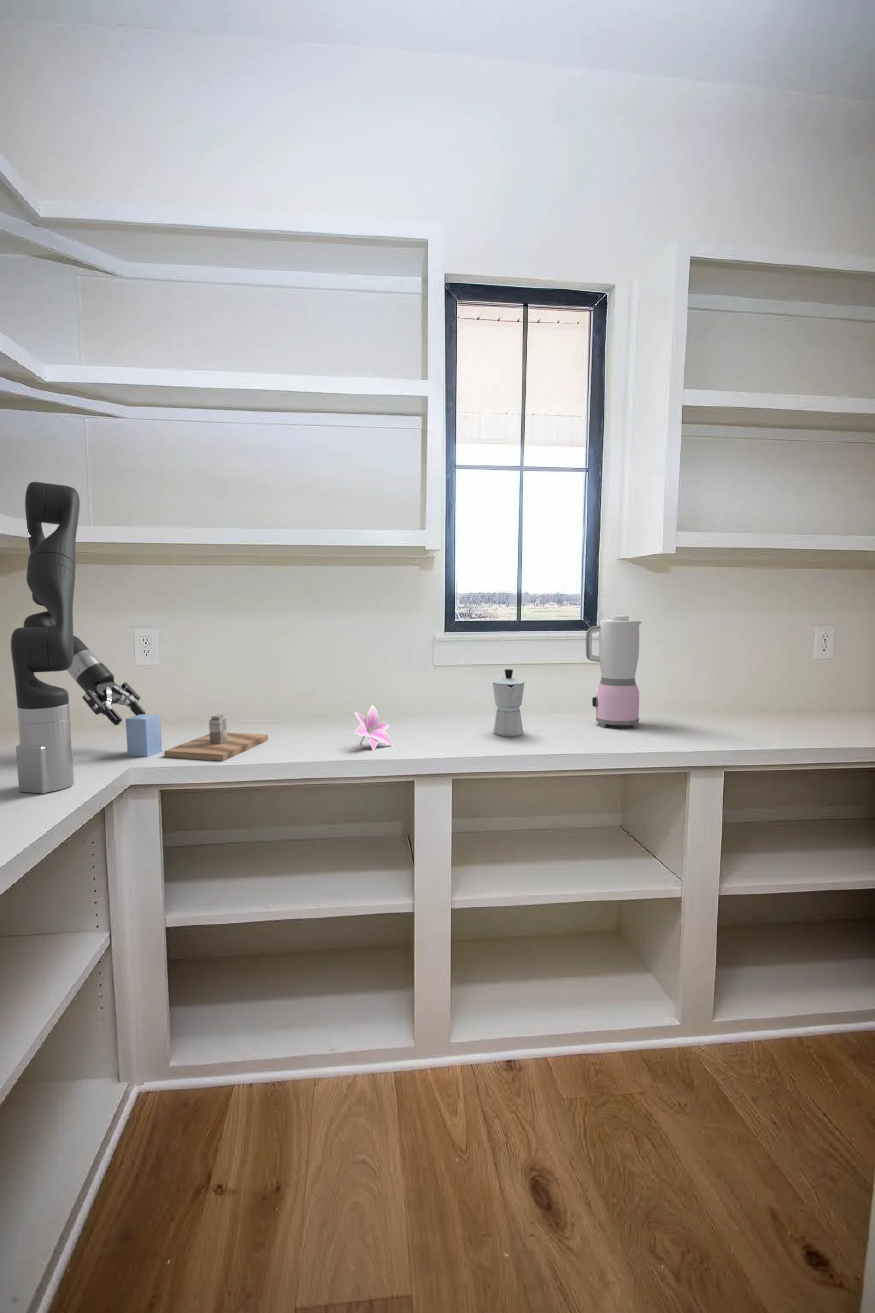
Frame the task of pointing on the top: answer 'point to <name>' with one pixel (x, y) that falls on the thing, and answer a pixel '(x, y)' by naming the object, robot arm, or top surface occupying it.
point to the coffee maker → (508, 706)
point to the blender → (616, 671)
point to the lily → (373, 728)
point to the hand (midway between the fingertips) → (131, 719)
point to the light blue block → (143, 735)
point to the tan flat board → (216, 743)
